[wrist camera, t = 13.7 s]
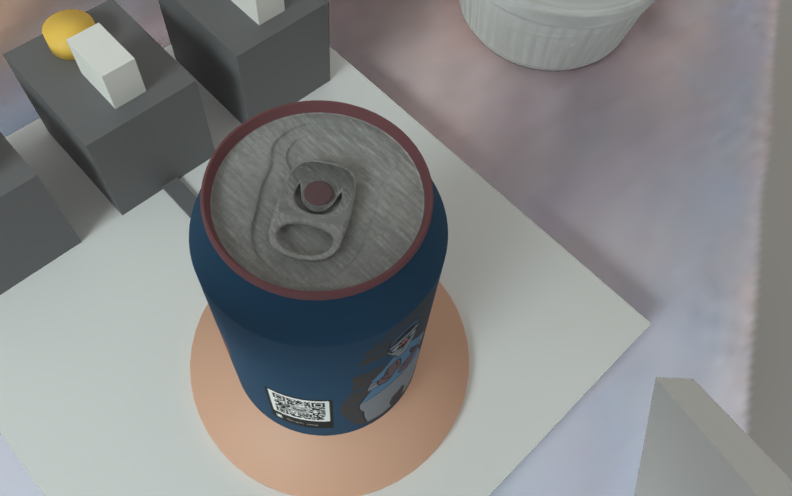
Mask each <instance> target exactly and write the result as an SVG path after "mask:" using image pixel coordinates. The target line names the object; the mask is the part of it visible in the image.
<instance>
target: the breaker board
mask: <svg viewBox="0 0 792 496" xmlns="http://www.w3.org/2000/svg"><path fill="white" fill-rule="evenodd" d="M158 1H159V4H160V7H161V11H162V14H163V18H164V21H165V25H166V28H167V32H168V35H169V38H170V42H171V45H169V46H167V47H165V48H162V47H161V46H160V45H159V44H158V43H157V42H156V41H155V40H154V39H153V38H152V37H151V36H150V35H149V34H148V33H147V32H146V31H145V30H144V29H143V28H142V27H141V26H140V25H139V24H138V23H137V22H136V21H135V20H134V19H133V18H132V17H131V16H129V15H128V14H127V13H126V12H125V11H124V10H123V9H122V8H121V7H120V6H119V5H118V4H117V3H116V2H115V1H114V0H108V1H106V2H104V3H102V4H100V5H99V6H97V7H95V8H93V9H91V10H89V11H87V12H84V11H81V10H75V9H69V10H63V11H60V12H57V13H55V14H53V15H51V16H50V17H49V18H48V19H47V20H46V21H45V22H44V24H43V27H42V33H43V34H42V35H40V36H38V37H36V38H34V39H32V40H30V41H28V42H26V43H25V44H23V45H21V46H19V47H17V48H15V49H13V50H11V51H9V52H7V53H5V54H3V55H4V57H5V59H6V60H7V62H8V64H9V65H10V67H11V69H12V71H13V72H14V74H15V76H16V77H17V79H18V81H19V82H20V84H21V86H22V88H23V89H24V91H25V93H26V94H27V96H28V98H29V99H30V101H31V103H32V105H33V106H34V108H35V110H36V111H37V113H38V115H39V116H40V118H39V119H37V120H35V121H33V122H32V123H30V124H28V125H26V126H25V127H23V128H21V129H19V130H17V131H16V132H14V133H12V134H10V135H9V136H7V137H4V136H3V135H2V133H1V132H0V433H1V435H2V436H3V438H4V439H5V441H6V442H7V443H8V445H9V446H10V448H11V449H12V451H13V452H14V453H15V455H16V456H17V458H18V459H19V461H20V462H21V463H22V465H23V466H24V468H25V469H26V471H27V472H28V473H29V475H30V476H31V478H32V479H33V481H34V482H35V483H36V485H37V486H38V488H39V489H40V491H41V492H42V494H43V495H44V496H489V495H490V494H491V493H492V492H493V491H494V490H495V489H496V488H497V487H498V486H499V485H500V484H501V482H502V481H503V480H504V479H505V478H506V477H507V476H508V475H509V474H510V473H511V472H512V471H513V470H514V469H515V468H516V467H517V465H518V464H519V463H520V462H521V461H522V460H523V459H524V458H525V457H526V456H527V455H528V454H529V453H530V452H531V451H532V450H533V448H534V447H535V446H536V445H537V444H538V443H539V442H540V441H541V440H542V439H543V438H544V437H545V436H546V435H547V434H548V433H549V431H550V430H551V429H552V428H553V427H554V426H555V425H556V424H557V423H558V422H559V421H560V420H561V419H562V418H563V417H564V416H565V414H566V413H567V412H568V411H569V410H570V409H571V408H572V407H573V406H574V405H575V404H576V403H577V402H578V401H579V400H580V399H581V397H582V396H583V395H584V394H585V393H586V392H587V391H588V390H589V389H590V388H591V387H592V386H593V385H594V384H595V383H596V382H597V380H598V379H599V378H600V377H601V376H602V375H603V374H604V373H605V372H606V371H607V370H608V369H609V368H610V367H611V366H612V365H613V363H614V362H615V361H616V360H617V359H618V358H619V357H620V356H621V355H622V354H623V353H624V352H625V351H626V350H627V349H628V348H629V346H630V345H631V344H632V343H633V342H634V341H635V340H636V339H637V338H638V337H639V336H640V335H641V334H642V333H643V332H644V331H645V329H646V328H647V327H648V326H649V325H650V324H651V323H650V322H649V321H648V320H647V319H645V318H644V317H643V316H642V315H641V314H640V313H638V312H637V311H636V310H635V309H634V308H633V307H632V306H630V305H629V304H628V303H627V302H626V301H625V300H623V299H622V298H621V297H620V296H619V295H618V294H616V293H615V292H614V291H613V290H612V289H611V288H609V287H608V286H607V285H606V284H605V283H604V282H603V281H601V280H600V279H599V278H598V277H597V276H596V275H594V274H593V273H592V272H591V271H590V270H589V269H587V268H586V267H585V266H584V265H583V264H582V263H581V262H579V261H578V260H577V259H576V258H575V257H574V256H572V255H571V254H570V253H569V252H568V251H567V250H565V249H564V248H563V247H562V246H561V245H560V244H558V243H557V242H556V241H555V240H554V239H553V238H552V237H550V236H549V235H548V234H547V233H546V232H545V231H543V230H542V229H541V228H540V227H539V226H538V225H536V224H535V223H534V222H533V221H532V220H531V219H530V218H528V217H527V216H526V215H525V214H524V213H523V212H521V211H520V210H519V209H518V208H517V207H516V206H514V205H513V204H512V203H511V202H510V201H509V200H507V199H506V198H505V197H504V196H503V195H502V194H501V193H499V192H498V191H497V190H496V189H495V188H494V187H492V186H491V185H490V184H489V183H488V182H487V181H485V180H484V179H483V178H482V177H481V176H480V175H479V174H477V173H476V172H475V171H474V170H473V169H472V168H470V167H469V166H468V165H467V164H466V163H465V162H463V161H462V160H461V159H460V158H459V157H458V156H456V155H455V154H454V153H453V152H452V151H451V150H450V149H448V148H447V147H446V146H445V145H444V144H443V143H441V142H440V141H439V140H438V139H437V138H436V137H434V136H433V135H432V134H431V133H430V132H429V131H428V130H426V129H425V128H424V127H423V126H422V125H421V124H419V123H418V122H417V121H416V120H415V119H414V118H412V117H411V116H410V115H409V114H408V113H407V112H405V111H404V110H403V109H402V108H401V107H400V106H399V105H397V104H396V103H395V102H394V101H393V100H392V99H390V98H389V97H388V96H387V95H386V94H385V93H383V92H382V91H381V90H380V89H379V88H378V87H377V86H375V85H374V84H373V83H372V82H371V81H370V80H368V79H367V78H366V77H365V76H364V75H363V74H361V73H360V72H359V71H358V70H357V69H356V68H355V67H353V66H352V65H351V64H350V63H349V62H348V61H346V60H345V59H344V58H343V57H342V56H341V55H339V54H338V53H337V52H336V51H335V50H334V49H332V48H331V47H330V42H329V2H328V1H327V0H158ZM311 100H325V101H336V102H342V103H347V104H352V105H355V106H359V107H362V108H364V109H367V110H370V111H372V112H374V113H376V114H378V115H380V116H382V117H384V118H385V119H387V120H389V121H390V122H392V123H393V124H394V125H396V126H397V127H398V128H399V129H401V130H402V131H403V132H404V133H405V134H406V135H407V136H408V137H409V138H410V139H411V140H412V142H413V143H414V144H415V146H416V147H417V148H418V150H419V151H420V153H421V154H422V156H423V158H424V160H425V162H426V164H427V167H428V169H429V172H430V176H431V179H432V181H433V182H434V184H435V186H436V188H437V190H438V192H439V194H440V196H441V199H442V201H443V204H444V208H445V212H446V216H447V223H448V245H447V252H446V256H445V261H444V264H443V268H442V272H441V275H440V279H439V283H438V287H437V290H436V294H435V298H434V301H433V305H432V309H431V312H430V316H429V320H428V323H427V327H426V331H425V335H424V338H423V342H422V346H421V349H420V353H419V357H418V360H417V364H416V368H415V371H414V374H413V377H412V379H411V382H410V384H409V386H408V388H407V389H406V391H405V393H404V394H403V396H402V397H401V398H400V400H399V401H398V402H397V403H396V404H395V405H394V406H393V407H392V408H391V409H390V410H389V411H388V412H387V413H386V414H385V415H383V416H382V417H381V418H379V419H378V420H376V421H375V422H373V423H371V424H369V425H367V426H365V427H363V428H361V429H358V430H356V431H352V432H349V433H344V434H339V435H329V436H318V435H309V434H304V433H300V432H296V431H293V430H290V429H288V428H285V427H283V426H281V425H279V424H277V423H276V422H274V421H273V420H271V419H270V418H268V417H267V416H266V415H264V414H263V413H262V412H261V411H260V410H259V409H258V408H257V407H256V406H255V405H254V404H253V403H252V401H251V400H250V399H249V397H248V396H247V394H246V393H245V391H244V389H243V387H242V385H241V383H240V380H239V378H238V375H237V373H236V370H235V368H234V366H233V363H232V361H231V358H230V356H229V353H228V351H227V348H226V346H225V344H224V341H223V339H222V336H221V334H220V331H219V329H218V326H217V324H216V322H215V319H214V317H213V314H212V312H211V309H210V307H209V304H208V302H207V300H206V297H205V295H204V292H203V290H202V287H201V285H200V282H199V280H198V278H197V275H196V273H195V270H194V267H193V264H192V260H191V255H190V249H189V225H190V219H191V214H192V210H193V206H194V204H195V201H196V198H197V196H198V194H199V191H200V189H201V185H202V180H203V176H204V173H205V170H206V167H207V165H208V163H209V161H210V159H211V157H212V155H213V153H214V152H215V150H216V149H217V147H218V146H219V144H220V143H221V142H222V141H223V139H224V138H225V137H226V136H227V135H228V134H229V133H230V132H232V131H233V130H234V129H235V128H236V127H238V126H239V125H240V124H242V123H243V122H245V121H247V120H248V119H250V118H252V117H253V116H255V115H257V114H259V113H261V112H264V111H266V110H269V109H271V108H274V107H277V106H280V105H284V104H288V103H293V102H300V101H311Z"/></svg>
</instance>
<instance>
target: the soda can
mask: <svg viewBox="0 0 792 496" xmlns="http://www.w3.org/2000/svg"><path fill="white" fill-rule="evenodd" d="M447 245H448V223H447V216H446V212H445V208H444V204H443V201H442V199H441V196H440V194H439V192H438V190H437V188H436V186H435V184H434V182H433V181H432V179H431V176H430V172H429V169H428V167H427V164H426V162H425V160H424V158H423V156H422V154H421V153H420V151H419V150H418V148H417V147H416V146H415V144H414V143H413V142H412V140H411V139H410V138H409V137H408V136H407V135H406V134H405V133H404V132H403V131H402V130H401V129H399V128H398V127H397V126H396V125H394V124H393V123H392V122H390V121H389V120H387V119H385V118H384V117H382V116H380V115H378V114H376V113H374V112H372V111H370V110H367V109H364V108H362V107H359V106H355V105H352V104H347V103H342V102H336V101H325V100H311V101H300V102H293V103H288V104H284V105H280V106H277V107H274V108H271V109H269V110H266V111H264V112H261V113H259V114H257V115H255V116H253V117H252V118H250V119H248V120H247V121H245V122H243V123H242V124H240V125H239V126H238V127H236V128H235V129H234V130H233V131H232V132H230V133H229V134H228V135H227V136H226V137H225V138H224V139H223V141H222V142H221V143H220V144H219V146H218V147H217V149H216V150H215V152H214V153H213V155H212V157H211V159H210V161H209V163H208V165H207V167H206V170H205V173H204V176H203V180H202V185H201V189H200V191H199V194H198V196H197V198H196V201H195V204H194V206H193V210H192V214H191V219H190V225H189V249H190V255H191V260H192V264H193V267H194V270H195V273H196V275H197V278H198V280H199V282H200V285H201V287H202V290H203V292H204V295H205V297H206V300H207V302H208V304H209V307H210V309H211V312H212V314H213V317H214V319H215V322H216V324H217V326H218V329H219V331H220V334H221V336H222V339H223V341H224V344H225V346H226V348H227V351H228V353H229V356H230V358H231V361H232V363H233V366H234V368H235V370H236V373H237V375H238V378H239V380H240V383H241V385H242V387H243V389H244V391H245V393H246V394H247V396H248V397H249V399H250V400H251V401H252V403H253V404H254V405H255V406H256V407H257V408H258V409H259V410H260V411H261V412H262V413H263V414H264V415H266V416H267V417H268V418H270V419H271V420H273V421H274V422H276V423H277V424H279V425H281V426H283V427H285V428H288V429H290V430H293V431H296V432H300V433H304V434H309V435H318V436H329V435H339V434H344V433H349V432H352V431H356V430H358V429H361V428H363V427H365V426H367V425H369V424H371V423H373V422H375V421H376V420H378V419H379V418H381V417H382V416H383V415H385V414H386V413H387V412H388V411H389V410H390V409H391V408H392V407H393V406H394V405H395V404H396V403H397V402H398V401H399V400H400V398H401V397H402V396H403V394H404V393H405V391H406V389H407V388H408V386H409V384H410V382H411V379H412V377H413V374H414V371H415V368H416V364H417V360H418V357H419V353H420V349H421V346H422V342H423V338H424V335H425V331H426V327H427V323H428V320H429V316H430V312H431V309H432V305H433V301H434V298H435V294H436V290H437V287H438V283H439V279H440V275H441V272H442V268H443V264H444V261H445V256H446V252H447Z"/></svg>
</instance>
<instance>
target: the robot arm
mask: <svg viewBox="0 0 792 496" xmlns="http://www.w3.org/2000/svg"><path fill="white" fill-rule="evenodd" d="M635 496H792V480H790V478H789V477H788V476H787V475H786V474H785V473H784V472H783V471H782V470H781V469H780V468H779V467H778V466H777V465H776V464H775V463H774V462H773V461H772V460H771V459H770V458H769V457H768V456H767V455H766V454H765V453H764V452H763V451H762V449H761V448H760V447H759V446H758V445H757V444H756V443H755V442H754V441H753V440H752V439H751V438H750V437H749V436H748V435H747V434H746V433H745V432H744V431H743V430H742V429H741V428H740V427H739V426H738V425H737V424H736V423H735V422H734V421H733V420H732V419H731V418H730V416H729V415H728V414H727V413H726V412H725V411H724V410H723V409H722V408H721V407H720V406H719V405H718V404H717V403H716V402H715V401H714V400H713V399H712V398H711V397H710V396H709V395H708V394H707V393H706V392H705V391H704V390H703V389H702V388H701V387H700V386H699V385H698V384H697V383H696V381H695V380H694V379H684V378H658V377H656V380H655V385H654V391H653V396H652V402H651V407H650V413H649V418H648V424H647V429H646V435H645V440H644V446H643V451H642V457H641V462H640V468H639V473H638V478H637V484H636V489H635Z"/></svg>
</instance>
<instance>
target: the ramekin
mask: <svg viewBox="0 0 792 496" xmlns="http://www.w3.org/2000/svg"><path fill="white" fill-rule="evenodd" d="M654 2H655V0H460V6H461V11H462V14H463V16H464V18H465V21H466V23H467V24H468V25H469V27H470V29H471V30H472V32H473V33H474V34H475V35H476V36H477V37H478V39H480V41H481V42H482V43H483V44H484V45H485V46H487V47H488V48H489V49H490V50H491V51H493V52H494V53H496V54H497V55H499V56H501V57H502V58H504V59H506V60H508V61H510V62H513V63H515V64H518V65H521V66H524V67H528V68H532V69H537V70H546V71H562V70H570V69H575V68H579V67H583V66H587V65H589V64H591V63H594V62H597V61H599V60H600V59H602V58H604V57H605V56H607V55H608V54H609V53H610V52H611V51H613V50H614V49H615V48H616V47H617V46H618V45H619V43H620V42H621V41H622V40H623V38H624V37H625V36H626V34H627V33H628V32H629V30H630V29H631V28H632V26H633V25H634V24H635V23H636V21H637V20H638V19H639V17H640V16H641V15H642V13H643V12H644V11H645V10H646V9H647V8H649V7H650V6H651V5H652V4H653V3H654Z"/></svg>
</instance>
